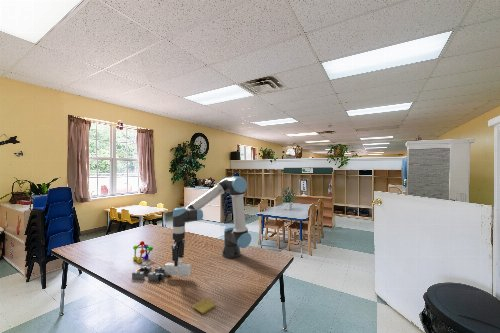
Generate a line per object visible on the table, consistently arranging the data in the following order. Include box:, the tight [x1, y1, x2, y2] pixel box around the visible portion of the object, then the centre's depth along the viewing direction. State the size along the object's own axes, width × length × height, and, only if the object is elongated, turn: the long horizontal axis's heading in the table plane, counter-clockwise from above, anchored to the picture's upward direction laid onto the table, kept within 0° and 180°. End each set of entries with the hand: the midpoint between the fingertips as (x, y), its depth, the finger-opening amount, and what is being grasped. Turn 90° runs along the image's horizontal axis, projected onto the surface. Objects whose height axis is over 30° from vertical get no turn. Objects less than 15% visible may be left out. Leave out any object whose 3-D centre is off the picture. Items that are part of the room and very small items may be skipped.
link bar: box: [164, 262, 192, 277], centre depth 140 cm, size 16×4×6 cm, turn 81°
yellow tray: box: [192, 297, 217, 315], centre depth 110 cm, size 9×9×2 cm
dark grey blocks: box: [131, 265, 170, 282], centre depth 143 cm, size 21×10×5 cm, turn 81°
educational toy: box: [132, 240, 154, 264], centre depth 170 cm, size 16×13×15 cm
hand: (178, 269), depth 140 cm, fingers closed on link bar, 4 cm apart
